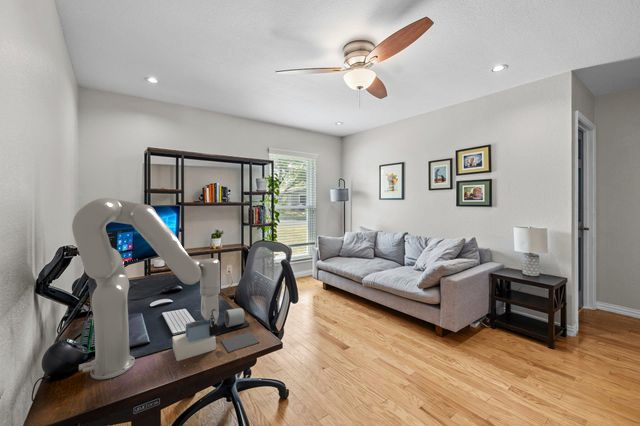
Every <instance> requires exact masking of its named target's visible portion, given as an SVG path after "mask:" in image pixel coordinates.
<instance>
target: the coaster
mask: <svg viewBox="0 0 640 426" xmlns="http://www.w3.org/2000/svg"><path fill="white" fill-rule="evenodd" d="M220 342H221V343H222V345H223V347H224V348H225V350H226V351H227V353H232V352H235V351H238V350H241V349H244V348H249V347H251V346H253V345H257V344H260V341H259V340H258V338H257V337H256V336H255V335H254V334H253V333H252V332H251V331H249V332H246V333H242V334H239V335H235V336H232V337H228V338H225V339H221V340H220Z"/></svg>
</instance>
